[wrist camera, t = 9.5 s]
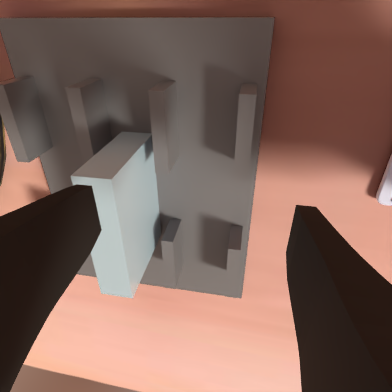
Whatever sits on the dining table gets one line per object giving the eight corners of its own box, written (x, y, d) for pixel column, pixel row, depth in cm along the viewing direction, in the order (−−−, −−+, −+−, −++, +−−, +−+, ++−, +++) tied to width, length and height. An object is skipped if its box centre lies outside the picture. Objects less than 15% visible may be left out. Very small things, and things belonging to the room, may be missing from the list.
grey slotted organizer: (273, 17, 15) (277, 18, 12) (242, 288, 25) (239, 324, 22) (9, 17, 17) (-43, 18, 14) (81, 266, 28) (60, 296, 25)
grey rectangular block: (152, 133, 18) (111, 179, 13) (161, 234, 22) (132, 298, 17) (122, 131, 18) (70, 175, 13) (136, 231, 23) (101, 293, 18)
